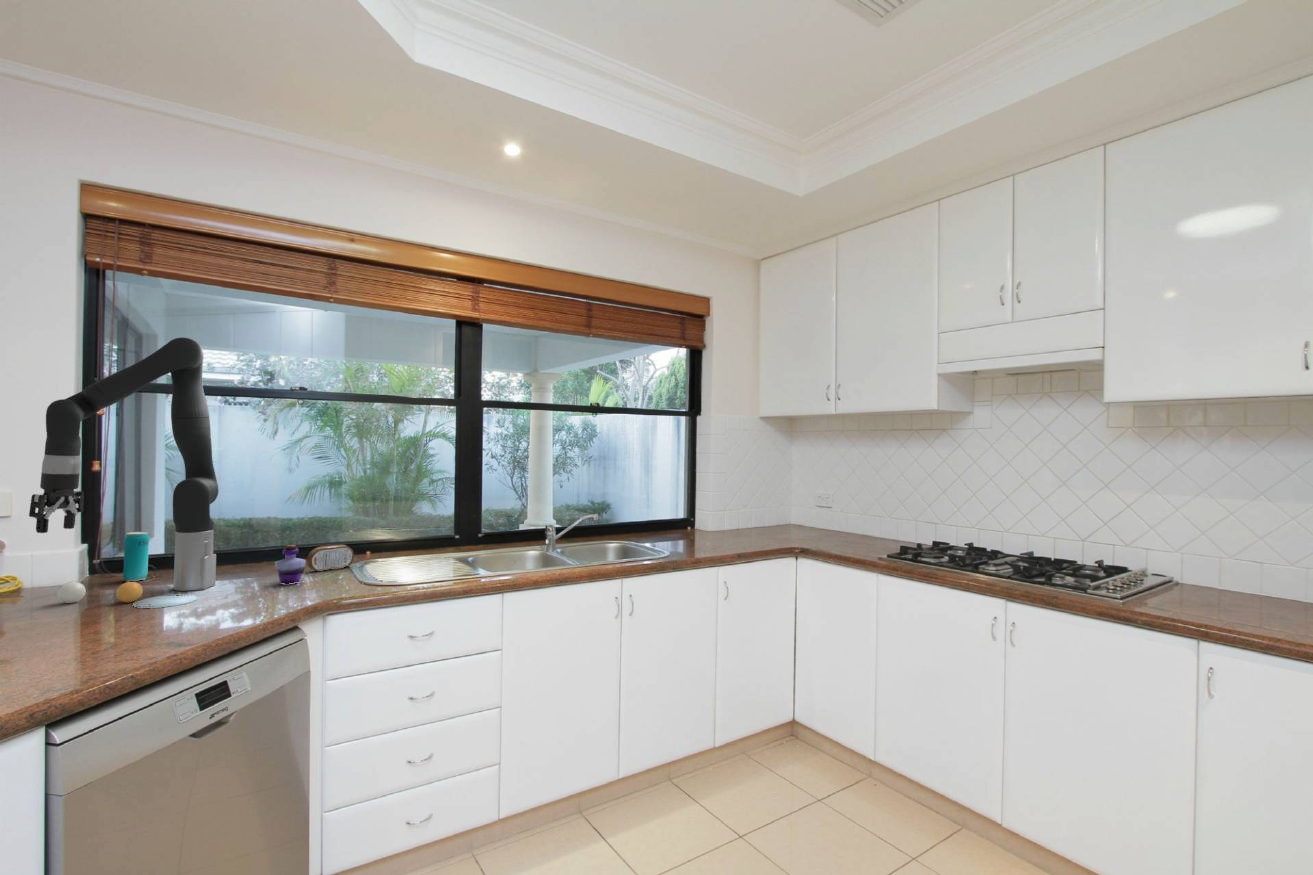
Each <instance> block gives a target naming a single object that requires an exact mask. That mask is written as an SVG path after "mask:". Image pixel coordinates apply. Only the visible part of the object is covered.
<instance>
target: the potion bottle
mask: <svg viewBox="0 0 1313 875" xmlns="http://www.w3.org/2000/svg"><path fill="white" fill-rule="evenodd" d="M299 550H300V549H299V548H297V545H296V544H287V545H285V546H284V549H282V554H283V556H284V555H285V557H284V559H280V560H277V561H274V564H275V565H274V566H275V571H276V572H277V576H278V580H279V583H280V582H281V583H285V584H289V583H294V582H300V581H301V577H302V574H304V572H305V569H306V566H305V565H306V564H307V559H306V560H305V559H303V558H299V557H298V558H297V554H299Z"/></svg>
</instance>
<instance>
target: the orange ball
mask: <svg viewBox="0 0 1313 875" xmlns="http://www.w3.org/2000/svg"><path fill="white" fill-rule="evenodd" d="M143 591H144V590H143V587H142V585H141V584H140V583H139V582H126V581H125V583H122V584H121V585H119V586H118V588H117V589H116V592H115V595H116V598H117V599H118V600H119V601H120V602H123V603H132V602H133V603H134V602H136V601H138V599H140V597H142V595H143Z"/></svg>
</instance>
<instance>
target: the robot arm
mask: <svg viewBox="0 0 1313 875" xmlns="http://www.w3.org/2000/svg"><path fill="white" fill-rule="evenodd" d="M203 362H204V351H203V349H202V346H200V344H199V343H198V342H196V340H194V339H193V338H192V339H191V338H188V337H176V338H172V339H171V340H169V341H168V342H167V343H165V344H164V345H163V346H162V347H159V349H157V350H156V351H155V352H153V353H151V354H149V355H148V356H146V357H145V358H143V359H141V360H140V361H138V362H136V363H134V364H132V365H129V366H127V367H125V368H123V369H121V370H119V371H116V372H114V373H112V374H111V375H108V376H106V377H104V378H101V379H100V380H98V381H95V382H94V383H91V384H90V385H88V386H86V387H85V388H84V389H83V390H82V391H80V392H77V393H75V394H73V395H71V396H68V397H67V398H63V399H56V400H54V401H53V402H51V403H49V405H48V406H47V408H46V411H45V412H46V413H45V429H46V430H45V432H46V439H45V443H44V444H45V446H44V455H43V459H42V462H41V476H40V483H39V484H40V486H39V487H40V489H42V490H43V493H42V494H35V493H34V494H32V495H31V498H30V504H29V505H30V507H29V511H28V516H29V518H35V519H36V523H35V524H36V525H35V532H36V533H38V534H45V533H49V532H48V531H49V521H50V520H49V518H50V516H51V515H52V513H55V512H56V511H57V510H62V512H64V518H63V529H65V530H68V529H69V530H72V529H74V528H75V525H76V516H77V515H78V513H83V512H84V501H85V492H84V491H83V490H81V491H80V490H78V488H79V485H80V476H81V475H80V474H81V473H80V472H81V447H82V440H81V437H80V432H81V430H80V429H81V424H82V423H81V422H83V421H84V420H86V419H88V418H89V417H92V416H93V415H95V414H97V413H98V412H99V411H101V410H103V409H106V408H107V407H108V408H109V407H110V406H113V405H114V404H116V403H118V402H120V401H123V400H124V399H126V398H128V397H130V396H131V395H133V394H135V393H137V392H138V391H139V390H141V389H142V388H144V387H146V386H148V385H149V384H150V383H152V382H154V381H156V380H158V379H160V378H161V377H163V376H165V375H168V374H170V377H171V382H172V396H171V403H170V404H171V405H170V419H171V420H170V421H171V432H172V436H173V440H174V442H175V444H176V447H177V449H178V450H179V453H180V455H181V457H182V459H183V464H184V473H185V477H184V478H185V479H184V480H181V481H179V483H177V484H176V485H175V488H174V490H173V494H172V522H173V524H174V526H175V537H174V538H175V541H174V568H173V569H174V570H173V590H174V591H180V592H181V591H182V592H184V591H185V592H186V591H187V592H188V591H196V590H206V589H208V588H211V587H214V586H215V585H216V579H217V578H216V576H217V575H216V573H217V554H216V553H214V538H215V537H214V534H215V532H214V530H215V522H214V520H213V519H212V517H211V514H210V513H211V510H210V509H211V508H210V507H211V506H210V505H211V504H213V503H214V502H215V501H216V500H217V498H218V496H219V490H220V489H219V485H218V480H217V479H218V478H217V476H216V471H215V468H214V467H215V465H214V460H213V448H212V447H213V446H212V437H211V436H212V433H211V431H212V430H211V420H210V412H209V407H208V403H207V399H206V395H205V391H204V386H203V385H204V384H203V368H204V367H203V366H204V365H203V364H204V363H203ZM77 506H78V507H77ZM36 510H37V512H36Z"/></svg>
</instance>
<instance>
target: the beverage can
mask: <svg viewBox="0 0 1313 875" xmlns="http://www.w3.org/2000/svg"><path fill="white" fill-rule="evenodd" d="M125 535H126V536H125V537H124V545H123V546H124V547H123V548H124V550H123V578H124V581H125V582H126V581H127V582H130V581H137V580H144V581H145V580H146V578H147V577H148V572H149V568H148V567H149V546H150V545H149V544H150V542H149V541H150V540H149V539H150V537H149V535H148V532H147V531H133V532H130V531H129V532H126V533H125Z"/></svg>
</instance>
